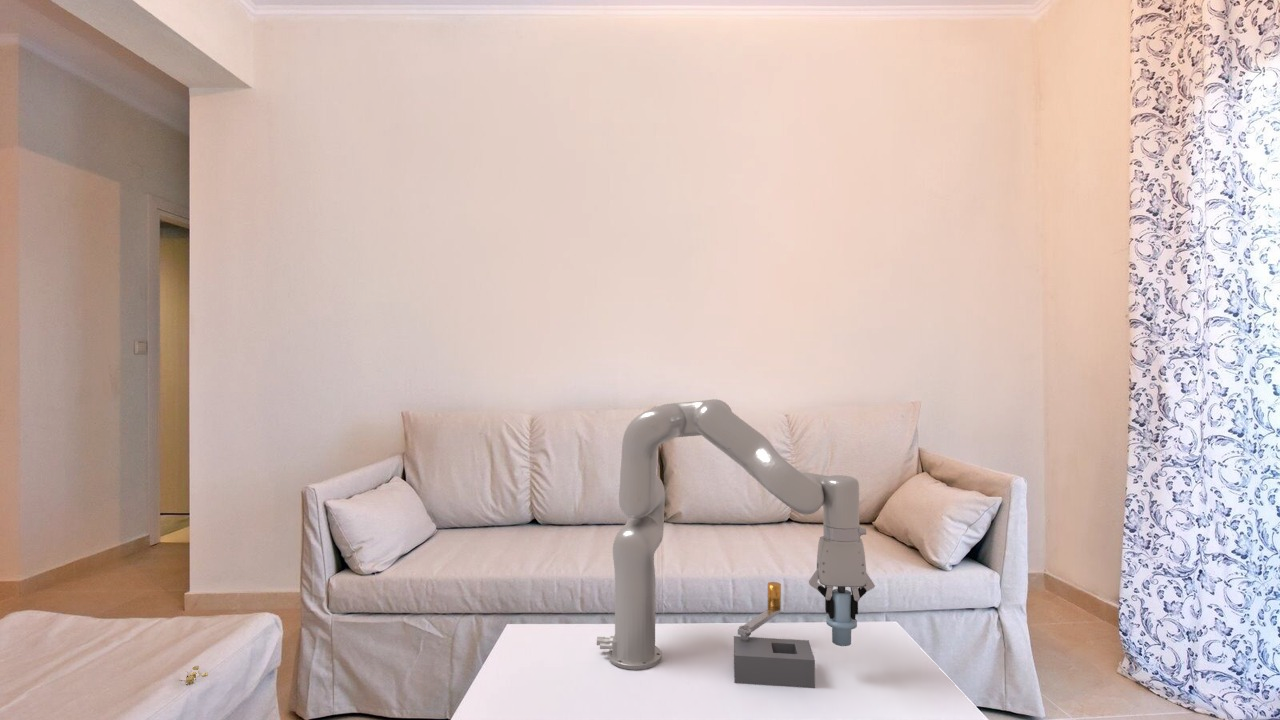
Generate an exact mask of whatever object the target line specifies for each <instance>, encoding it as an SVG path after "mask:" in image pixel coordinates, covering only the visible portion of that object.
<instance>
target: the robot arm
mask: <svg viewBox="0 0 1280 720" xmlns="http://www.w3.org/2000/svg"><path fill="white" fill-rule="evenodd" d="M696 436H697V437H698V436H700V437H701V436H702V437H703V438H704V439H706V440H707V441H708V442H709V443H711V445H713V446H715V447H716V448H717V449H719V450H720V451H721V452H723V454H725V455H726V456H728V457H729V458H730V459H731V460H732V461H734V462H736V464H738V465H739V466H741V467H742V468H743V469H744V470H745V471H746V472H747V473H748V474H749V475H750V476H752V478H753V479H755V480H756V481H757V482H758V483H759V484H760V486H762V487H763V488H764V489H766V490H767V491H768V492H769V493H770V494H771V495H773V496H774V497H775V498H777V500H779V501H781V502H782V503H783V504H784V505H785V506H787V507H789V508H790V509H791V510H792V511H795V513H798V514H801V515H812V514H815V513H816V512H818V511H819V510H820V509H821V507H823V513H822V515H823V536H822V535H821V536H819V540H818V545H817V553H816V554H817V555H816V570H815V571H814V572H813V574H812V576H811V577H810V579H809V580H808V584H809V586H811V587H812V588H814V589H815V590H817V591H818V592H819V593H820V594H821V595H822V596H823V598H825V600H824V602H825V613H826V614H827V616H828V615H829V617H830V619H833V618H834V601H833V599H832V591H833V590H834V587H836V588H838V587H845V588H850V592H851V618H852V619H853V620H855V619H856V615H859V602H860V599H861V598H862V597H863V596H864V595H865V594H866V593H868V592H869V591H871V590H872V589H873V590H874V588H875V587H876V585H875V583H874V581H873V580H872V579H871V577H870V576H869V574H868V573H867V563H866V562H867V561H866V554H865V547H864V541H863V539H862V538H861V536H865V535H867V528H863V527H861V526H860V483H859V480H857V478H856V477H853V476H850V475H840V474H838V475H824V474H818V473H813V472H805V471H804V472H801V471H800V470H799V469H797V468H795V467H794V466H793V465H792V464H791V463H789V462H788V461H787V460H786V459H785V458H784V457H783V456H781V454H780V453H779V452H778V451H777V450H776V449H775V447H774V446H773V444H772V443H771V442H770V440H769V439H767V437H765V435H763V434H762V433H761V432H759V431H758V430H757V429H755V428H754V427H752V426H751V425H749V423H747V422H746V421H744V420H743V419H741V417H739V416H738V415H737V414H735V413H734V412H733V411H732V409H731V407H730V406H729V405H728V404H727V403H726V402H725V401H723V400H720V399H717V398H716V399H714V398H713V399H706V400H696V401H686V402H673V403H666V404H662V405H658V406H654V407H652V408H649V409H648V410H645V411H643V412H641V413H639V414H638V415H637V416H635V418H633V419H632V420H631V422H629V424H628V425H627V427H626V428H625V431H624V433H623V437H622V442H621V459H620V471H619V472H620V473H619V474H620V475H619V489H618V490H619V491H618V505H619V507H620V509H621V511H622V513H623V514H624V515H625V516H626V523H625V524H624V525H623V526H622V527H621V529H619V531H618V532H617V533H616V535H615V537H614V540H613V543H612V558H613V559H612V560H613V568H614V635H611V636H610V637H605V636H597V637H596V645H597V646H599V649H600V650H608V653H607V655H608V656H607V659H608V660H609V662H610V663H611V664H612V665H614V666H616V667H618V668H621V669H626V670H643V669H644V670H645V669H649V668H652V667H654V666H656V665H659V663H660V662H661V661H662V658H663V656H662V654H663V653H662V649H660V648H659V647H658V646H656V570H655V569H656V568H655V553H656V551H657V550H658V548H659V547H660V546H661V544H662V541H663V537H664V528H665V527H664V524H665V503H666V491H665V486H664V484H663V481H662V479H661V478H660V477H659V476H658V475H657V473H658V472H657V470H658V448H659V447H660V445H661V444H664V443H668V442H670V441H672V440H675V438H684V437H696ZM818 581H819V583H818Z"/></svg>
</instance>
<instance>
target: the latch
mask: <svg viewBox="0 0 1280 720" xmlns="http://www.w3.org/2000/svg"><path fill="white" fill-rule="evenodd" d="M781 595H782V585H781V583H779V582H775V581H770V582H768V583H767V609H765V610H764V611H763V612H761V613H760V614H758V615H757V616H755V617H754V618H752V619H751V620H750V621H748V622H747V623H745V624H743V625H740V626H738V628H737V636H738V635H739V636H740V637H741V636H745V637H746V636H749V637H750V636H751V635H752V633H753V632H755V631H756V630H758V628H760V627H762V626H763V625H765V624H766V623H768V622H769V621H771V620H772V619H773V618H774V617H776V616H777V615H779V614H781V609H782V608H781V607H782V606H781V605H782V596H781Z"/></svg>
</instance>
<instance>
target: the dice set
mask: <svg viewBox="0 0 1280 720" xmlns="http://www.w3.org/2000/svg"><path fill="white" fill-rule="evenodd" d="M192 667H193V666H192ZM192 669H193V670H198V669H199V670H200V667H199V665H194V667H193V668H192ZM186 672H187V673H188V674H189V675H188V677H186V680H185V684H186V683H187V684H189V685H188V686H190V685H193V684H194V683H195V680H194V678H196V674H197V673H196V672H193V673H191V672H190V673H189V672H188V671H186ZM199 675H201V677H203V678H204V677H205V678H206V677H208V675H209V673H208V672H204V673H203V672H202V674H199Z"/></svg>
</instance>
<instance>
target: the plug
mask: <svg viewBox="0 0 1280 720" xmlns="http://www.w3.org/2000/svg"><path fill="white" fill-rule="evenodd" d="M851 595H852V593H851V590H848V589H846V587H837V588H835V589H834V588H833V591H832V599H833V601H834V618H833V619H830V617H829V615H828V614H827V615H826V618H825V619H826V625H827V626H829V627H830V628H831V642H832V643H833V644H834V645H836V646H840V647H849V646H851V645H852V630H854V629H856V628H857V627H858V620H857V619H856V618H855V620H853V619H852V618H851Z"/></svg>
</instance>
